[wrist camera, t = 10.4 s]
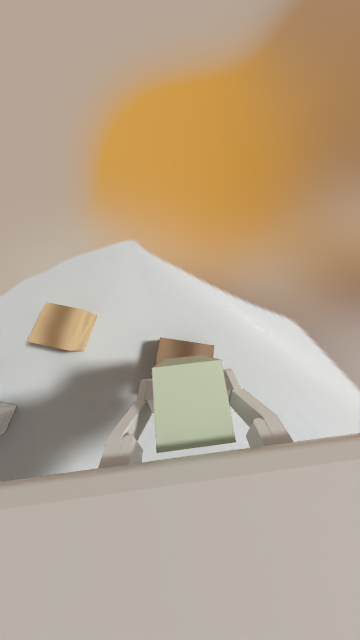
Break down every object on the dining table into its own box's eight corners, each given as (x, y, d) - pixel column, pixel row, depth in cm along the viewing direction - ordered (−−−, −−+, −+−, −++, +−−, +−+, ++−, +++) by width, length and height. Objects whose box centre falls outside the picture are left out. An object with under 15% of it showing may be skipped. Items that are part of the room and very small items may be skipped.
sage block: (169, 396, 14) (156, 453, 6) (166, 359, 15) (151, 367, 7) (205, 392, 14) (235, 442, 6) (200, 355, 15) (221, 359, 7)
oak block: (50, 343, 25) (27, 341, 21) (65, 309, 27) (46, 302, 23) (85, 350, 25) (67, 350, 21) (98, 316, 26) (83, 309, 22)
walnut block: (154, 389, 23) (149, 397, 19) (163, 339, 25) (160, 337, 21) (203, 397, 23) (209, 407, 19) (208, 346, 25) (214, 345, 21)
